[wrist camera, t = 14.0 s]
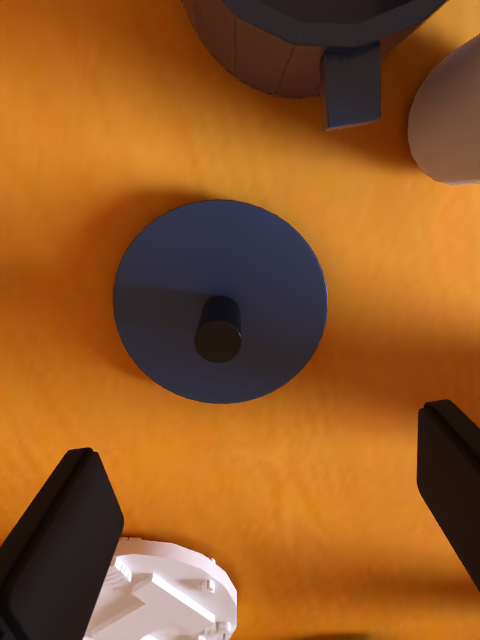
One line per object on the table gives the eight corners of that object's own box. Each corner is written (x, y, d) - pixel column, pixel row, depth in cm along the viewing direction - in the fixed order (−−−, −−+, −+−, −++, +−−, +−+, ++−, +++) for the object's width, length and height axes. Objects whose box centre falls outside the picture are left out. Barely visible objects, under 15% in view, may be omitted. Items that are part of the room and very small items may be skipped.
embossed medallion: (260, 624, 39) (262, 656, 36) (112, 659, 41) (103, 693, 38) (195, 510, 32) (191, 539, 29) (22, 559, 34) (4, 591, 32)
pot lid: (316, 181, 22) (346, 176, 16) (329, 381, 27) (355, 431, 21) (90, 219, 22) (40, 227, 17) (147, 407, 28) (124, 462, 22)
